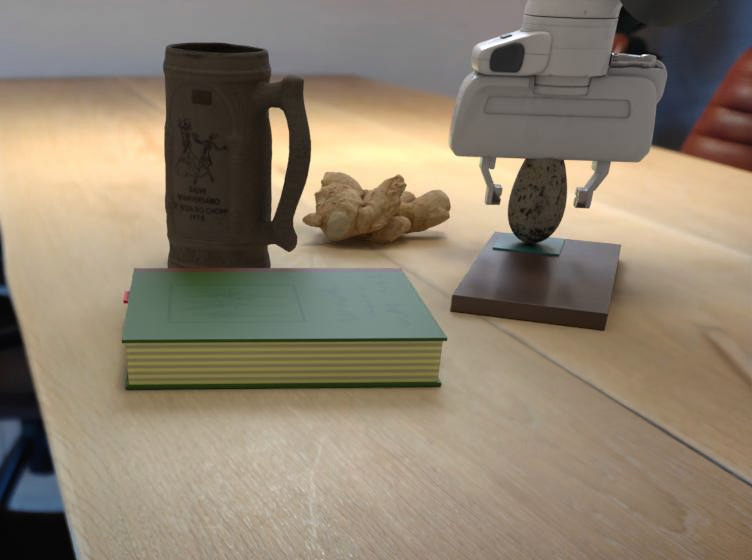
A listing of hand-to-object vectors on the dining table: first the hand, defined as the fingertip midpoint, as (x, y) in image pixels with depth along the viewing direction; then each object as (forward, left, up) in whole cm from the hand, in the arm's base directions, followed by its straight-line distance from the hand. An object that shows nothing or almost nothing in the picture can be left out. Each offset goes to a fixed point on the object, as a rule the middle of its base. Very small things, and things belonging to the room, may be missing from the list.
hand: (536, 205), depth 97 cm
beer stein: (+31, +10, -6) cm, 33 cm away
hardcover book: (+26, +31, -6) cm, 41 cm away
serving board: (0, +9, -5) cm, 10 cm away
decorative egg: (0, 0, -4) cm, 4 cm away
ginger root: (+18, -7, -6) cm, 20 cm away
